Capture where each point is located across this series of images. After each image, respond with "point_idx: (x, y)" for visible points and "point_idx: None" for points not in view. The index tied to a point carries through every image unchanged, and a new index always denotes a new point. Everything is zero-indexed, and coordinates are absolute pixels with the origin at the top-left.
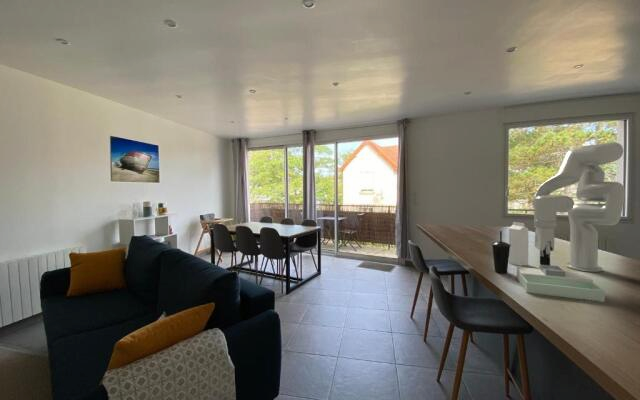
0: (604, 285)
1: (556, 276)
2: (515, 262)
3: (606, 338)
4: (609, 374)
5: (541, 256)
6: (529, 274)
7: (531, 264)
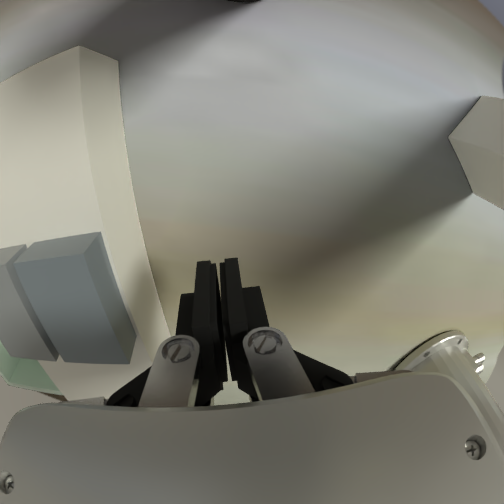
0: (216, 404)
1: None
2: (474, 121)
3: None
4: None
5: (193, 332)
6: None
7: (478, 210)
